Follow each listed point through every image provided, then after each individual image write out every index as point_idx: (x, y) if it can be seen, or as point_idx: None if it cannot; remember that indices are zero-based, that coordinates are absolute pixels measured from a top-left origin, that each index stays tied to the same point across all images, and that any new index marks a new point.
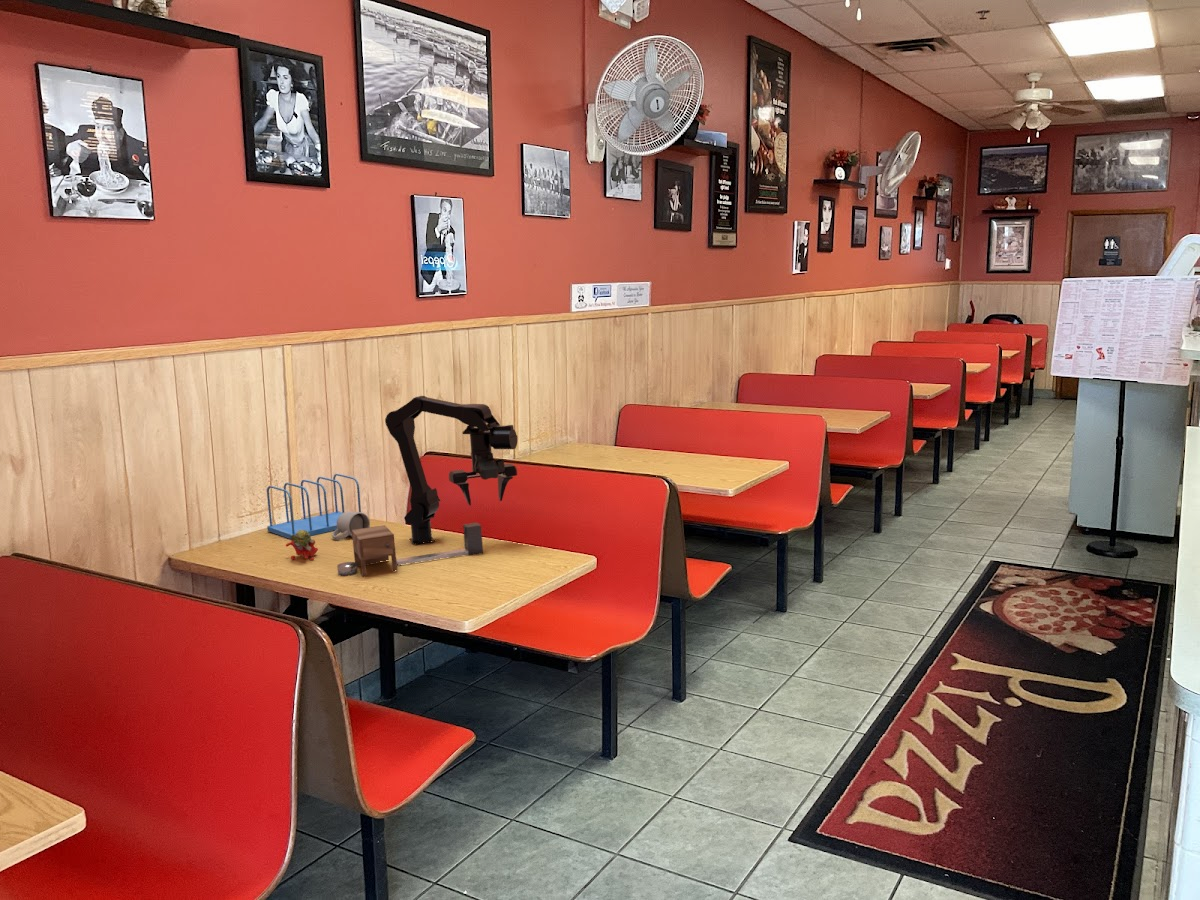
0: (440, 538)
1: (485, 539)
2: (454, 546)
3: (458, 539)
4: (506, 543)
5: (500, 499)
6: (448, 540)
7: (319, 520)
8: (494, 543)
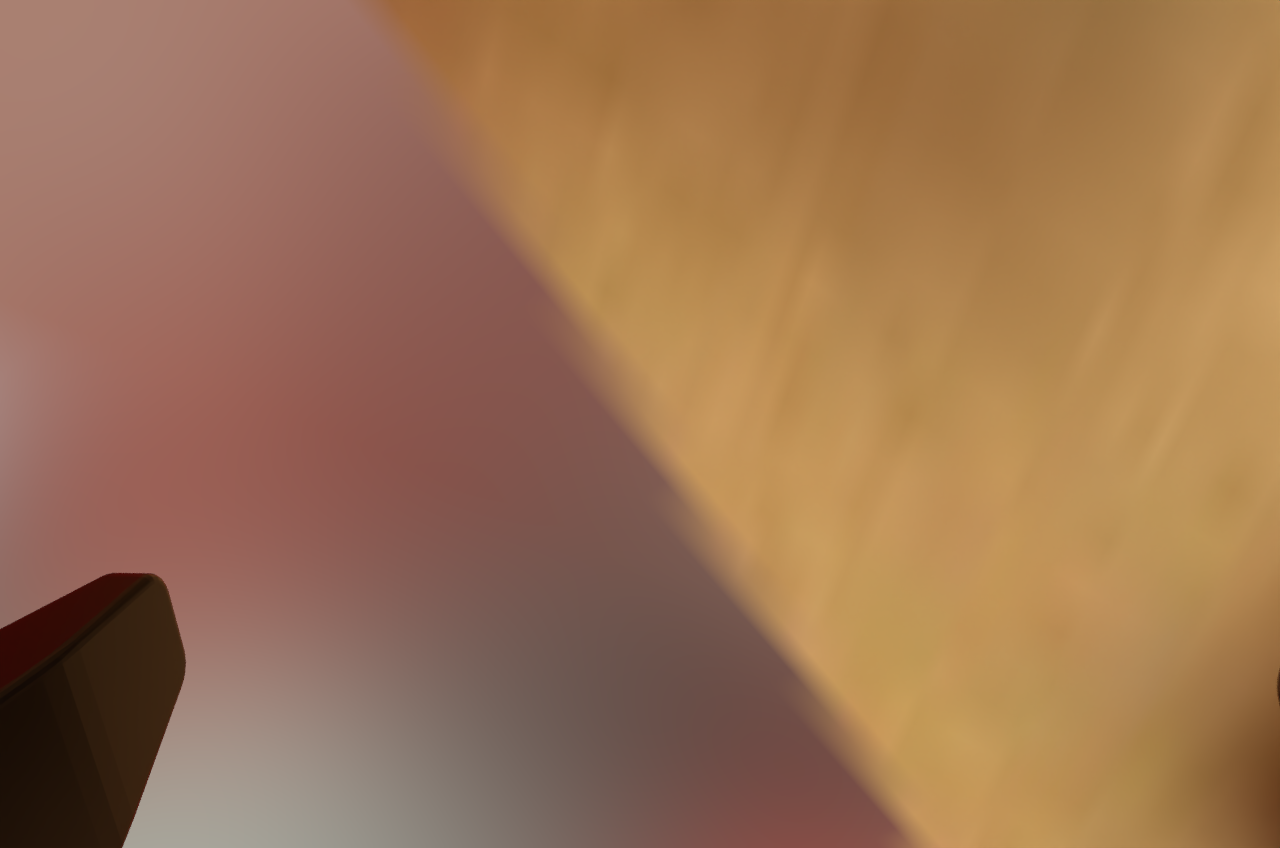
0: (1196, 818)
1: (686, 458)
2: (1246, 347)
3: (1020, 659)
4: (442, 35)
5: (132, 596)
6: (1157, 686)
7: None
8: (627, 156)
